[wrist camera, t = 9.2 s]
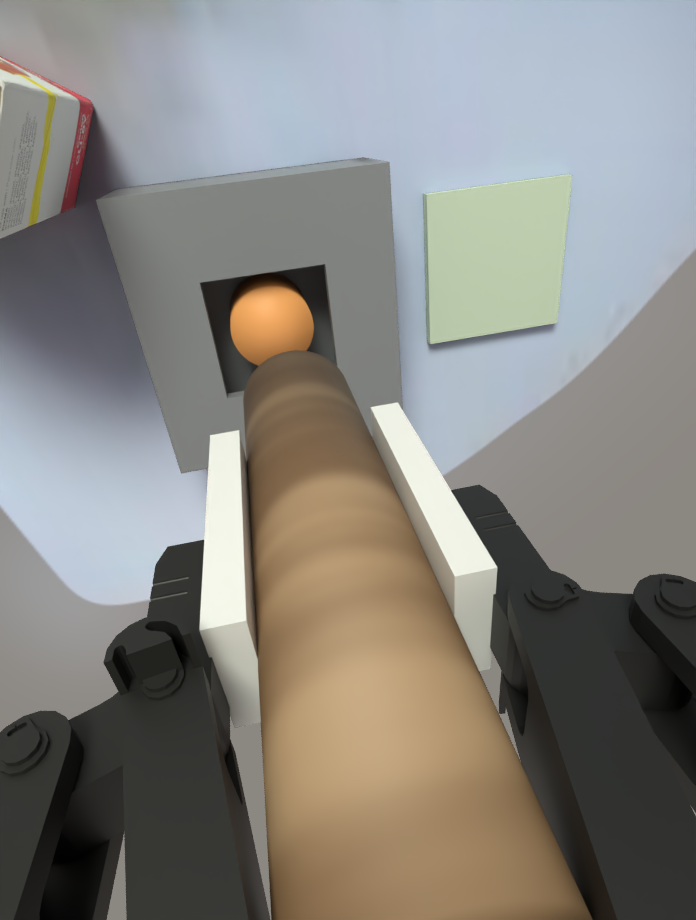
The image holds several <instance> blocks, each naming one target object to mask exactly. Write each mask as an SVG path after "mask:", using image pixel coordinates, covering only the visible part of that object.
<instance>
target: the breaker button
mask: <svg viewBox="0 0 696 920" xmlns="http://www.w3.org/2000/svg"><path fill="white" fill-rule="evenodd" d="M230 330H231V336H232V340H233V342H234V344H235V346H236V348H237V350H238V351H239V352H240V354H241V355H242V356H243V357H244V358H246V359H247V360H248V361H250V362H252V363H253V364H256V365H258V366H259V365H261V364H262V363H263V362H264V361H266V360H267V359H269V358H271V357H273V356H274V355H277V354H280V353H283V352H287V351H296V350H298V351H307V349H308V348H309V346H310V344H311V341H312V338H313V333H314V323H313V318H312V315H311V312H310V310H309V308H308V306H307V303H306V301H305V299H304V297H303V295H302V293H301V291H300V290H299V288H298V287H297V286H296V285H295V284H294V283H293V282H292V281H291V280H289V279H288V278H286V277H284V276H282V275H279V274H275V273H262V274H256V275H253V276H251V277H249V278H247V279H246V280H244V281H243V282H242V283H241V284H240V285H239V286H238V287H237V289H236V290H235V292H234V294H233V296H232V299H231V303H230Z"/></svg>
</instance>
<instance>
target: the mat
mask: <svg viewBox="0 0 696 920" xmlns="http://www.w3.org/2000/svg"><path fill="white" fill-rule="evenodd" d="M571 183H572V175H568V174H565V175H558V176H551V177H543V178H536V179H529V180H521V181H514V182H507V183H499V184H492V185H485V186H477V187H470V188H463V189H455V190H448V191H441V192H433V193H426V194H423V206H424V245H425V283H426V322H427V341H428V343H429V344H435V343H441V342H446V341H452V340H458V339H464V338H470V337H476V336H482V335H488V334H494V333H500V332H506V331H512V330H518V329H524V328H530V327H536V326H542V325H548V324H554V323H557V320H558V310H559V301H560V291H561V281H562V271H563V262H564V252H565V242H566V232H567V222H568V213H569V203H570V193H571Z"/></svg>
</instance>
